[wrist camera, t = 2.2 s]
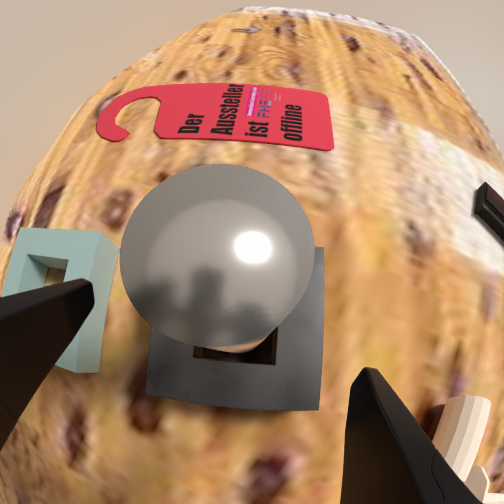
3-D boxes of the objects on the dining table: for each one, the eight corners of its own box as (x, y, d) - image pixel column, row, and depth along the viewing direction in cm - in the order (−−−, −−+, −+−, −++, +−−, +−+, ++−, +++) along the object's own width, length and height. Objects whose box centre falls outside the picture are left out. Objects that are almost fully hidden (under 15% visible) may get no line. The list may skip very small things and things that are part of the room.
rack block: (99, 372, 15) (75, 372, 12) (19, 341, 15) (-5, 336, 12) (119, 249, 18) (101, 231, 15) (40, 242, 18) (20, 227, 15)
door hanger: (335, 152, 22) (82, 143, 22) (333, 155, 22) (84, 146, 23) (327, 93, 25) (117, 90, 26) (326, 97, 26) (118, 93, 26)
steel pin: (235, 363, 15) (196, 390, 3) (202, 324, 16) (92, 234, 4) (275, 330, 16) (353, 253, 4) (242, 292, 17) (229, 139, 5)
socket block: (306, 401, 15) (318, 410, 12) (162, 388, 15) (145, 393, 12) (312, 264, 18) (323, 247, 15) (179, 254, 18) (167, 235, 15)
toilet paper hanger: (360, 524, 10) (425, 549, 4) (424, 401, 15) (494, 387, 9) (467, 524, 8) (510, 526, 2) (502, 446, 13) (543, 438, 8)
